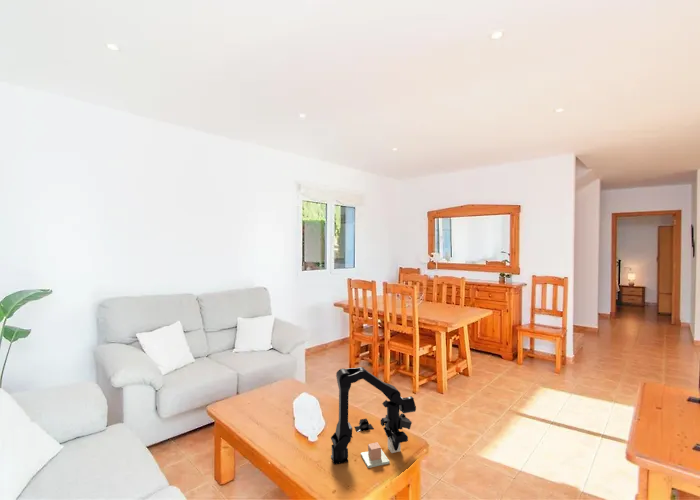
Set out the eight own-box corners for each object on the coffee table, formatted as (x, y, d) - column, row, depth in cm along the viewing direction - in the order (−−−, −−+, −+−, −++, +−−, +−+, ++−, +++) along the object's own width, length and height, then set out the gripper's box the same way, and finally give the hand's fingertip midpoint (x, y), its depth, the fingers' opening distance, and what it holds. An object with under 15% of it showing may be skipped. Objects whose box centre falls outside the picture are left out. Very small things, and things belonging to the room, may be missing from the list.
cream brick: (391, 453, 167) (391, 442, 167) (387, 447, 172) (387, 437, 171) (400, 451, 168) (400, 440, 168) (396, 446, 173) (396, 435, 173)
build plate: (367, 468, 157) (367, 465, 157) (360, 454, 166) (360, 452, 166) (389, 463, 160) (389, 461, 160) (381, 450, 169) (381, 448, 169)
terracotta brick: (371, 460, 160) (371, 449, 160) (368, 455, 165) (368, 444, 164) (381, 458, 162) (380, 447, 161) (377, 453, 166) (377, 442, 166)
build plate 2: (354, 434, 185) (354, 425, 185) (350, 427, 192) (350, 418, 192) (377, 430, 188) (377, 421, 188) (373, 423, 195) (372, 414, 195)
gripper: (418, 420, 163) (419, 455, 163) (400, 403, 181) (401, 434, 181) (395, 425, 160) (396, 460, 160) (379, 406, 178) (380, 438, 178)
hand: (394, 447), depth 170 cm, fingers closed on cream brick, 4 cm apart
